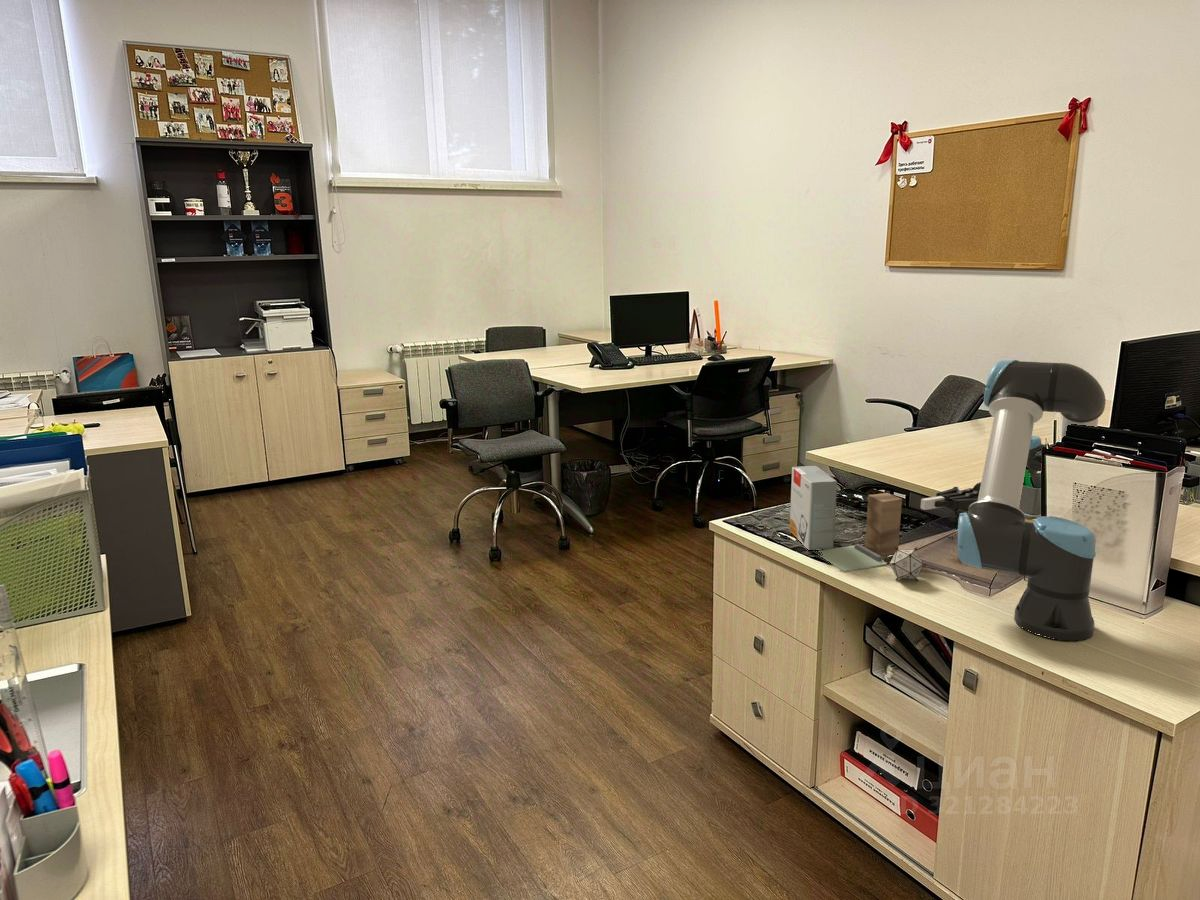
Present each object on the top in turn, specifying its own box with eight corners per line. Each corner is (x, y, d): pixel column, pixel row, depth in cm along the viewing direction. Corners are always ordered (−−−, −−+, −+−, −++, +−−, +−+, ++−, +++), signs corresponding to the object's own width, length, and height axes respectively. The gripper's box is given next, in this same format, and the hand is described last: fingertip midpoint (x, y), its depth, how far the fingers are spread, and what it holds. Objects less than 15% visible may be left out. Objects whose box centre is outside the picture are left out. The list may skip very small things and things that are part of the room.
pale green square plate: (887, 564, 210) (887, 559, 209) (844, 572, 206) (844, 566, 205) (854, 546, 223) (855, 541, 222) (813, 553, 219) (813, 547, 218)
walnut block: (897, 556, 215) (902, 499, 211) (878, 559, 214) (882, 501, 210) (883, 548, 221) (887, 492, 217) (864, 551, 219) (868, 495, 215)
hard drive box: (788, 532, 235) (791, 466, 230) (813, 530, 235) (817, 465, 230) (807, 551, 220) (811, 481, 215) (834, 550, 220) (838, 480, 216)
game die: (907, 590, 203) (927, 556, 204) (917, 592, 195) (938, 557, 195) (875, 570, 205) (896, 537, 205) (884, 571, 196) (905, 537, 197)
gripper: (1009, 514, 220) (938, 525, 213) (973, 500, 232) (905, 510, 225) (1012, 487, 218) (940, 498, 211) (976, 475, 230) (907, 484, 223)
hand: (922, 504), depth 218 cm, fingers closed
